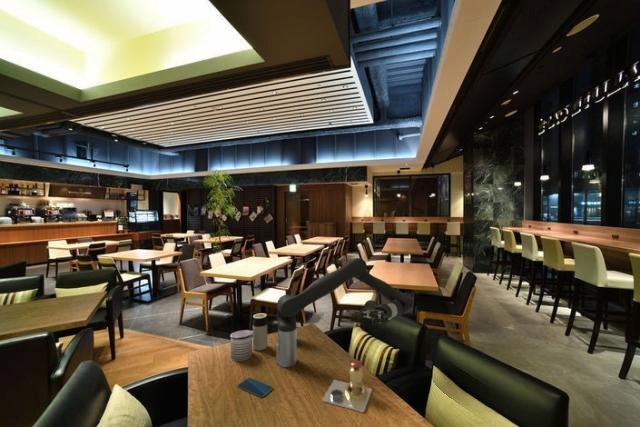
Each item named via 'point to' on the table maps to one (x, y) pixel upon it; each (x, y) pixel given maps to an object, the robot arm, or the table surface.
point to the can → (241, 345)
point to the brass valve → (356, 377)
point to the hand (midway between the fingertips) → (365, 319)
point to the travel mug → (259, 332)
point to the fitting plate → (347, 396)
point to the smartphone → (255, 387)
